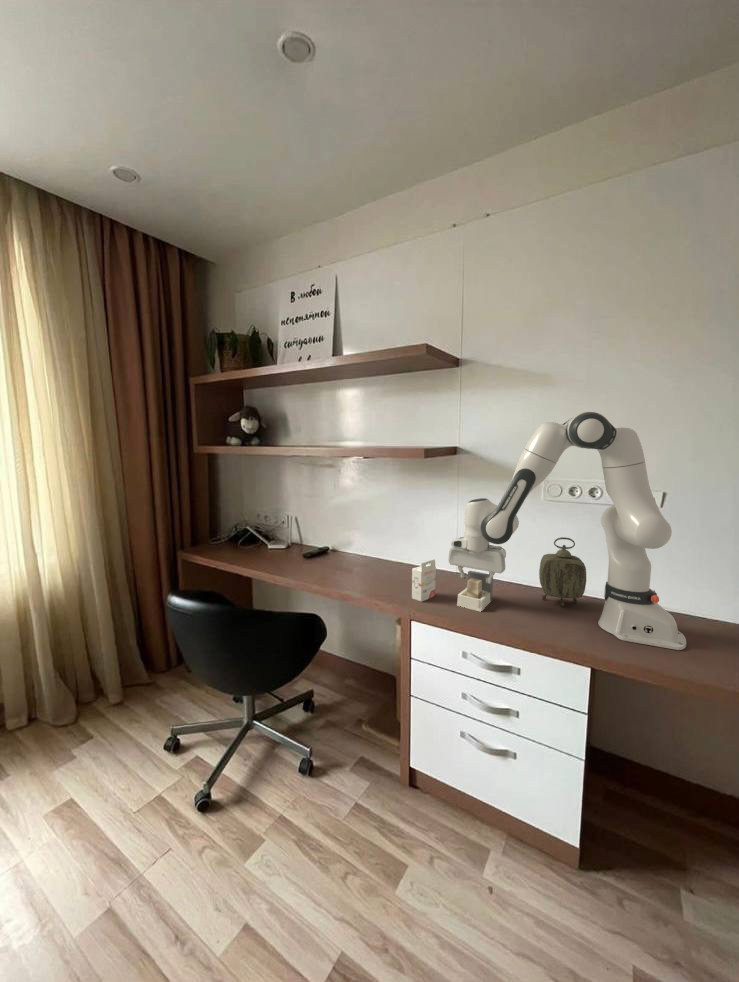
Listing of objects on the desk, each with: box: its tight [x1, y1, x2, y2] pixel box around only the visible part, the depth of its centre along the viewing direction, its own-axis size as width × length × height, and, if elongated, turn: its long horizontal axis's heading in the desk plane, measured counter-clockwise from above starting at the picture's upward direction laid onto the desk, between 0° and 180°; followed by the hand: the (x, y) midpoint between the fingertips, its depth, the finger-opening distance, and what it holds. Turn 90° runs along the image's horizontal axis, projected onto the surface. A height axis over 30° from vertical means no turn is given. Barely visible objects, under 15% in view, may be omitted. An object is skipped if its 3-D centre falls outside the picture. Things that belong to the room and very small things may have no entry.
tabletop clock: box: [538, 536, 587, 607], centre depth 143 cm, size 14×9×25 cm, turn 74°
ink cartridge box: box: [411, 558, 437, 603], centre depth 149 cm, size 9×5×15 cm, turn 133°
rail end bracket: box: [466, 578, 482, 599], centre depth 143 cm, size 4×5×8 cm
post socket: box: [456, 570, 494, 613], centre depth 144 cm, size 9×12×10 cm
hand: (475, 580), depth 142 cm, fingers open, 8 cm apart
